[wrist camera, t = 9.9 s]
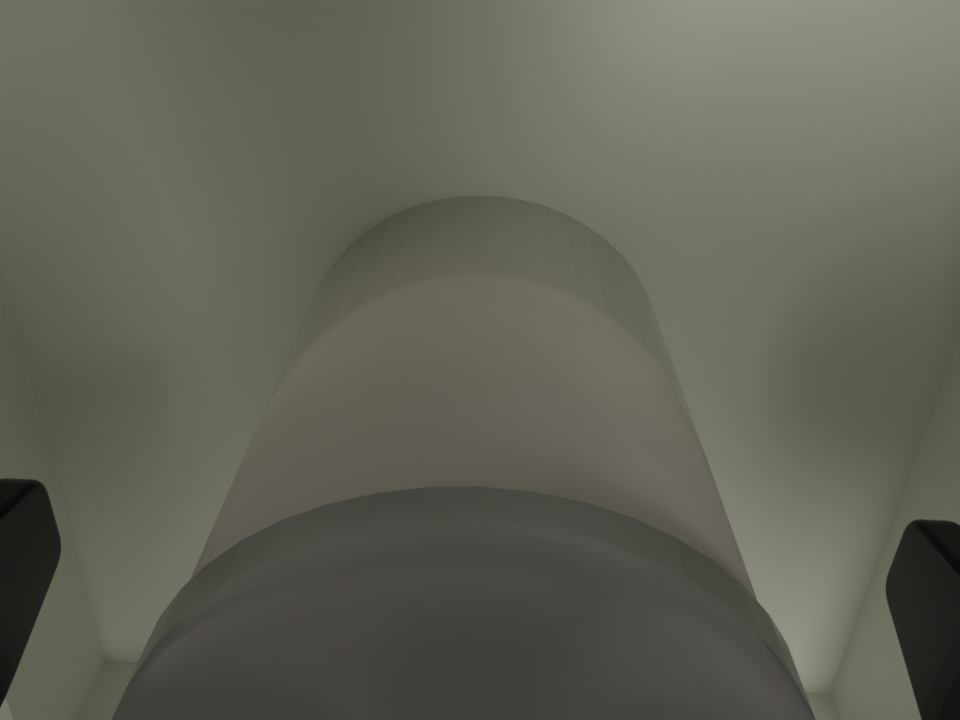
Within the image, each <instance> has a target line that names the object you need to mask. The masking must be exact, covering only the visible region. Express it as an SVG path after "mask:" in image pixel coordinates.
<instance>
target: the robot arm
mask: <svg viewBox="0 0 960 720" xmlns="http://www.w3.org/2000/svg"><path fill="white" fill-rule="evenodd" d="M60 555H61V538H60V534H59V530H58V527H57V523H56V520H55V516H54V513H53V509H52V505H51V502H50V498H49V495H48V492H47V489H46V487H45V486H44V485H43V483H41V482H40V481H37V480H34V479H13V478H3V479H0V707H1V705H2V703H3V701H4V699H5V697H6V695H7V693H8V690H9V688H10V686H11V683H12V681H13V679H14V676H15V674H16V671H17V669H18V666H19V664H20V661H21V659H22V656H23V653H24V651H25V648H26V646H27V643H28V641H29V638H30V635H31V633H32V630H33V628H34V625H35V623H36V620H37V617H38V615H39V612H40V610H41V607H42V605H43V602H44V599H45V597H46V594H47V592H48V589H49V587H50V584H51V581H52V579H53V576H54V574H55V571H56V569H57V566H58V563H59V560H60ZM885 591H886V599H887V603H888V606H889V610H890V613H891V617H892V620H893V624H894V627H895V631H896V634H897V637H898V641H899V644H900V648H901V651H902V655H903V658H904V662H905V665H906V669H907V672H908V676H909V679H910V682H911V686H912V689H913V693H914V696H915V700H916V703H917V707H918V710H919V714H920V717H921V720H960V525H959V524H957V523H955V522H952V521H947V520H925V519H917V520H914V521H911V522H910V523H909V524H908V525H907V526H906V528H905V530H904V532H903V534H902V537H901V540H900V542H899V545H898V548H897V550H896V553H895V556H894V558H893V561H892V564H891V566H890V569H889V571H888V574H887V578H886V585H885Z"/></svg>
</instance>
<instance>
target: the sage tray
mask: <svg viewBox="0 0 960 720" xmlns="http://www.w3.org/2000/svg"><path fill="white" fill-rule="evenodd" d="M462 196H497V197H506V198H515V199H520V200H524V201H528V202H532V203H536V204H540V205H543V206H546V207H548V208H551V209H553V210H556V211H559V212H561V213H564V214H566V215H568V216H570V217H571V218H573V219H575V220H577V221H579V222H581V223H583V224H584V225H586V226H587V227H589V228H590V229H592V230H593V231H594V232H596V233H597V234H598V235H600V236H601V237H603V238H604V239H605V240H606V241H607V242H608V243H609V244H611V245H612V246H613V247H614V248H615V249H616V250H617V251H618V252H619V253H620V254H621V255H622V256H623V257H624V259H625V260H626V261H627V263H628V264H629V265H630V266H631V268H632V269H633V270H634V271H635V273H636V274H637V276H638V278H639V280H640V281H641V283H642V285H643V287H644V288H645V290H646V292H647V294H648V297H649V299H650V302H651V304H652V307H653V310H654V312H655V315H656V318H657V321H658V323H659V326H660V329H661V332H662V335H663V337H664V340H665V343H666V346H667V349H668V351H669V354H670V357H671V360H672V363H673V365H674V368H675V371H676V374H677V377H678V379H679V382H680V385H681V388H682V391H683V393H684V396H685V399H686V402H687V405H688V407H689V410H690V413H691V416H692V419H693V421H694V424H695V427H696V430H697V433H698V435H699V438H700V441H701V444H702V447H703V449H704V452H705V455H706V458H707V461H708V463H709V466H710V469H711V472H712V475H713V477H714V480H715V483H716V486H717V489H718V491H719V494H720V497H721V500H722V503H723V505H724V508H725V511H726V514H727V517H728V519H729V522H730V525H731V528H732V531H733V533H734V536H735V539H736V542H737V545H738V547H739V550H740V553H741V556H742V559H743V561H744V564H745V567H746V570H747V573H748V575H749V578H750V581H751V584H752V587H753V589H754V592H755V595H756V598H757V601H758V603H759V604H760V605H761V606H762V607H763V608H764V609H765V611H766V612H767V613H768V614H769V615H770V617H771V619H772V620H773V622H774V623H775V625H776V627H777V628H778V630H779V632H780V633H781V635H782V636H783V638H784V640H785V641H786V643H787V645H788V648H789V650H790V653H791V656H792V658H793V661H794V664H795V666H796V669H797V671H798V674H799V677H800V679H801V682H802V685H803V687H804V690H805V693H806V695H807V698H808V701H809V703H810V706H811V709H812V711H813V714H814V717H815V719H816V720H921V717H920V714H919V710H918V707H917V703H916V700H915V696H914V693H913V689H912V686H911V682H910V679H909V676H908V672H907V669H906V665H905V662H904V658H903V655H902V651H901V648H900V644H899V641H898V637H897V634H896V631H895V627H894V624H893V620H892V617H891V613H890V610H889V606H888V603H887V599H886V591H885V585H886V578H887V574H888V571H889V569H890V566H891V564H892V561H893V558H894V556H895V553H896V550H897V548H898V545H899V542H900V540H901V537H902V534H903V532H904V530H905V528H906V526H907V525H908V524H909V523H910V522H911V521H914V520H917V519H925V520H947V521H952V522H955V523H957V524H959V525H960V0H0V479H3V478H13V479H34V480H37V481H40V482H41V483H43V485H44V486H45V487H46V489H47V492H48V495H49V498H50V502H51V505H52V509H53V513H54V516H55V520H56V523H57V527H58V530H59V534H60V538H61V555H60V560H59V563H58V566H57V569H56V571H55V574H54V576H53V579H52V581H51V584H50V587H49V589H48V592H47V594H46V597H45V599H44V602H43V605H42V607H41V610H40V612H39V615H38V617H37V620H36V623H35V625H34V628H33V630H32V633H31V635H30V638H29V641H28V643H27V646H26V648H25V651H24V653H23V656H22V659H21V661H20V664H19V666H18V669H17V671H16V674H15V676H14V679H13V681H12V683H11V686H10V688H9V690H8V693H7V695H6V697H5V699H4V701H3V703H2V705H1V707H0V720H111V719H112V717H113V715H114V713H115V711H116V709H117V706H118V704H119V702H120V700H121V698H122V696H123V693H124V691H125V689H126V687H127V685H128V683H129V680H130V678H131V676H132V674H133V672H134V670H135V667H136V665H137V663H138V661H139V659H140V657H141V654H142V652H143V650H144V648H145V646H146V644H147V642H148V640H149V638H150V636H151V634H152V631H153V629H154V627H155V625H156V623H157V621H158V619H159V617H160V616H161V615H162V613H163V612H164V611H165V609H166V608H167V607H168V605H169V604H170V603H171V601H172V600H173V599H174V597H175V596H176V595H177V593H178V592H179V591H180V589H181V588H182V587H183V586H184V585H186V584H187V583H188V582H189V580H190V578H191V576H192V574H193V571H194V569H195V567H196V565H197V562H198V560H199V558H200V556H201V553H202V551H203V549H204V546H205V544H206V542H207V540H208V537H209V535H210V533H211V531H212V528H213V526H214V524H215V522H216V519H217V517H218V515H219V512H220V510H221V508H222V506H223V503H224V501H225V499H226V497H227V494H228V492H229V490H230V488H231V485H232V483H233V481H234V479H235V476H236V474H237V472H238V469H239V467H240V465H241V463H242V460H243V458H244V456H245V454H246V451H247V449H248V447H249V445H250V442H251V440H252V438H253V435H254V433H255V431H256V429H257V426H258V424H259V422H260V420H261V417H262V415H263V413H264V411H265V408H266V406H267V404H268V402H269V399H270V397H271V395H272V392H273V390H274V388H275V386H276V383H277V381H278V379H279V377H280V374H281V372H282V370H283V368H284V365H285V363H286V361H287V358H288V356H289V354H290V352H291V349H292V347H293V345H294V343H295V340H296V338H297V336H298V334H299V331H300V329H301V327H302V325H303V322H304V320H305V318H306V315H307V313H308V311H309V309H310V306H311V304H312V302H313V300H314V297H315V295H316V293H317V291H318V289H319V287H320V285H321V283H322V281H323V279H324V278H325V276H326V275H327V273H328V272H329V270H330V269H331V267H332V266H333V265H334V263H335V262H336V260H337V259H338V258H339V257H340V256H341V255H342V254H343V253H344V252H345V251H346V250H347V249H348V247H349V246H350V245H351V244H352V243H354V242H355V241H356V240H357V239H359V238H360V237H361V236H362V235H364V234H365V233H366V232H367V231H368V230H370V229H371V228H373V227H375V226H376V225H378V224H380V223H381V222H383V221H385V220H386V219H388V218H390V217H391V216H394V215H396V214H398V213H401V212H403V211H405V210H408V209H410V208H412V207H415V206H419V205H422V204H426V203H429V202H433V201H436V200H441V199H448V198H455V197H462Z"/></svg>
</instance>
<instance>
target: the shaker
mask: <svg viewBox="0 0 960 720" xmlns="http://www.w3.org/2000/svg"><path fill="white" fill-rule="evenodd" d="M111 720H816V719H815V717H814V714H813V711H812V709H811V706H810V703H809V701H808V698H807V695H806V693H805V690H804V687H803V685H802V682H801V679H800V677H799V674H798V671H797V669H796V666H795V664H794V661H793V658H792V656H791V653H790V650H789V648H788V645H787V643H786V641H785V640H784V638H783V636H782V635H781V633H780V632H779V630H778V628H777V627H776V625H775V623H774V622H773V620H772V619H771V617H770V615H769V614H768V613H767V612H766V611H765V609H764V608H763V607H762V606H761V605H760V604H759V603H758V601H757V598H756V595H755V592H754V589H753V587H752V584H751V581H750V578H749V575H748V573H747V570H746V567H745V564H744V561H743V559H742V556H741V553H740V550H739V547H738V545H737V542H736V539H735V536H734V533H733V531H732V528H731V525H730V522H729V519H728V517H727V514H726V511H725V508H724V505H723V503H722V500H721V497H720V494H719V491H718V489H717V486H716V483H715V480H714V477H713V475H712V472H711V469H710V466H709V463H708V461H707V458H706V455H705V452H704V449H703V447H702V444H701V441H700V438H699V435H698V433H697V430H696V427H695V424H694V421H693V419H692V416H691V413H690V410H689V407H688V405H687V402H686V399H685V396H684V393H683V391H682V388H681V385H680V382H679V379H678V377H677V374H676V371H675V368H674V365H673V363H672V360H671V357H670V354H669V351H668V349H667V346H666V343H665V340H664V337H663V335H662V332H661V329H660V326H659V323H658V321H657V318H656V315H655V312H654V310H653V307H652V304H651V302H650V299H649V297H648V294H647V292H646V290H645V288H644V287H643V285H642V283H641V281H640V280H639V278H638V276H637V274H636V273H635V271H634V270H633V269H632V268H631V266H630V265H629V264H628V263H627V261H626V260H625V259H624V257H623V256H622V255H621V254H620V253H619V252H618V251H617V250H616V249H615V248H614V247H613V246H612V245H611V244H609V243H608V242H607V241H606V240H605V239H604V238H603V237H601V236H600V235H598V234H597V233H596V232H594V231H593V230H592V229H590V228H589V227H587V226H586V225H584V224H583V223H581V222H579V221H577V220H575V219H573V218H571V217H570V216H568V215H566V214H564V213H561V212H559V211H556V210H553V209H551V208H548V207H546V206H543V205H540V204H536V203H532V202H528V201H524V200H520V199H515V198H506V197H497V196H462V197H455V198H448V199H441V200H436V201H433V202H429V203H426V204H422V205H419V206H415V207H412V208H410V209H408V210H405V211H403V212H401V213H398V214H396V215H394V216H391V217H390V218H388V219H386V220H385V221H383V222H381V223H380V224H378V225H376V226H375V227H373V228H371V229H370V230H368V231H367V232H366V233H365V234H364V235H362V236H361V237H360V238H359V239H357V240H356V241H355V242H354V243H352V244H351V245H350V246H349V247H348V249H347V250H346V251H345V252H344V253H343V254H342V255H341V256H340V257H339V258H338V259H337V260H336V262H335V263H334V265H333V266H332V267H331V269H330V270H329V272H328V273H327V275H326V276H325V278H324V279H323V281H322V283H321V285H320V287H319V289H318V291H317V293H316V295H315V297H314V300H313V302H312V304H311V306H310V309H309V311H308V313H307V315H306V318H305V320H304V322H303V325H302V327H301V329H300V331H299V334H298V336H297V338H296V340H295V343H294V345H293V347H292V349H291V352H290V354H289V356H288V358H287V361H286V363H285V365H284V368H283V370H282V372H281V374H280V377H279V379H278V381H277V383H276V386H275V388H274V390H273V392H272V395H271V397H270V399H269V402H268V404H267V406H266V408H265V411H264V413H263V415H262V417H261V420H260V422H259V424H258V426H257V429H256V431H255V433H254V435H253V438H252V440H251V442H250V445H249V447H248V449H247V451H246V454H245V456H244V458H243V460H242V463H241V465H240V467H239V469H238V472H237V474H236V476H235V479H234V481H233V483H232V485H231V488H230V490H229V492H228V494H227V497H226V499H225V501H224V503H223V506H222V508H221V510H220V512H219V515H218V517H217V519H216V522H215V524H214V526H213V528H212V531H211V533H210V535H209V537H208V540H207V542H206V544H205V546H204V549H203V551H202V553H201V556H200V558H199V560H198V562H197V565H196V567H195V569H194V571H193V574H192V576H191V578H190V580H189V582H188V583H187V584H186V585H184V586H183V587H182V588H181V589H180V591H179V592H178V593H177V595H176V596H175V597H174V599H173V600H172V601H171V603H170V604H169V605H168V607H167V608H166V609H165V611H164V612H163V613H162V615H161V616H160V617H159V619H158V621H157V623H156V625H155V627H154V629H153V631H152V634H151V636H150V638H149V640H148V642H147V644H146V646H145V648H144V650H143V652H142V654H141V657H140V659H139V661H138V663H137V665H136V667H135V670H134V672H133V674H132V676H131V678H130V680H129V683H128V685H127V687H126V689H125V691H124V693H123V696H122V698H121V700H120V702H119V704H118V706H117V709H116V711H115V713H114V715H113V717H112V719H111Z"/></svg>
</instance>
